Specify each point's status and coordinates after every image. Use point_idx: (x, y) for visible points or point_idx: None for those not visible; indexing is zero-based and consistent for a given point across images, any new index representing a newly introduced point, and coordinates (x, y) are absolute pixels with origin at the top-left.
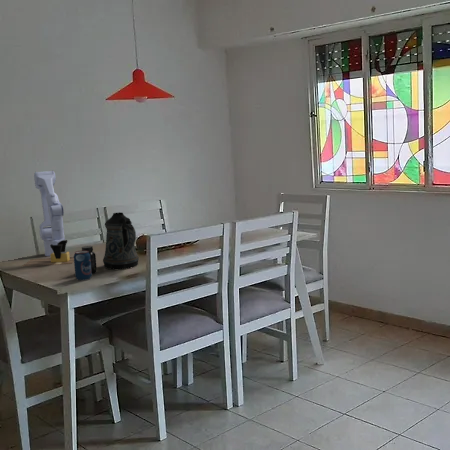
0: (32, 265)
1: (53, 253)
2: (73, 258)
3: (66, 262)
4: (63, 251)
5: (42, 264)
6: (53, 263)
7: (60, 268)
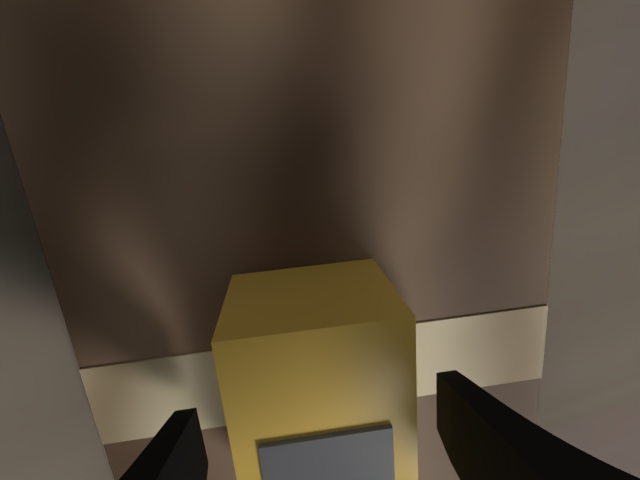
0: (1, 10)
1: (303, 371)
2: (450, 465)
3: (222, 476)
4: (468, 476)
5: (94, 184)
6: (166, 335)
7: (6, 467)
